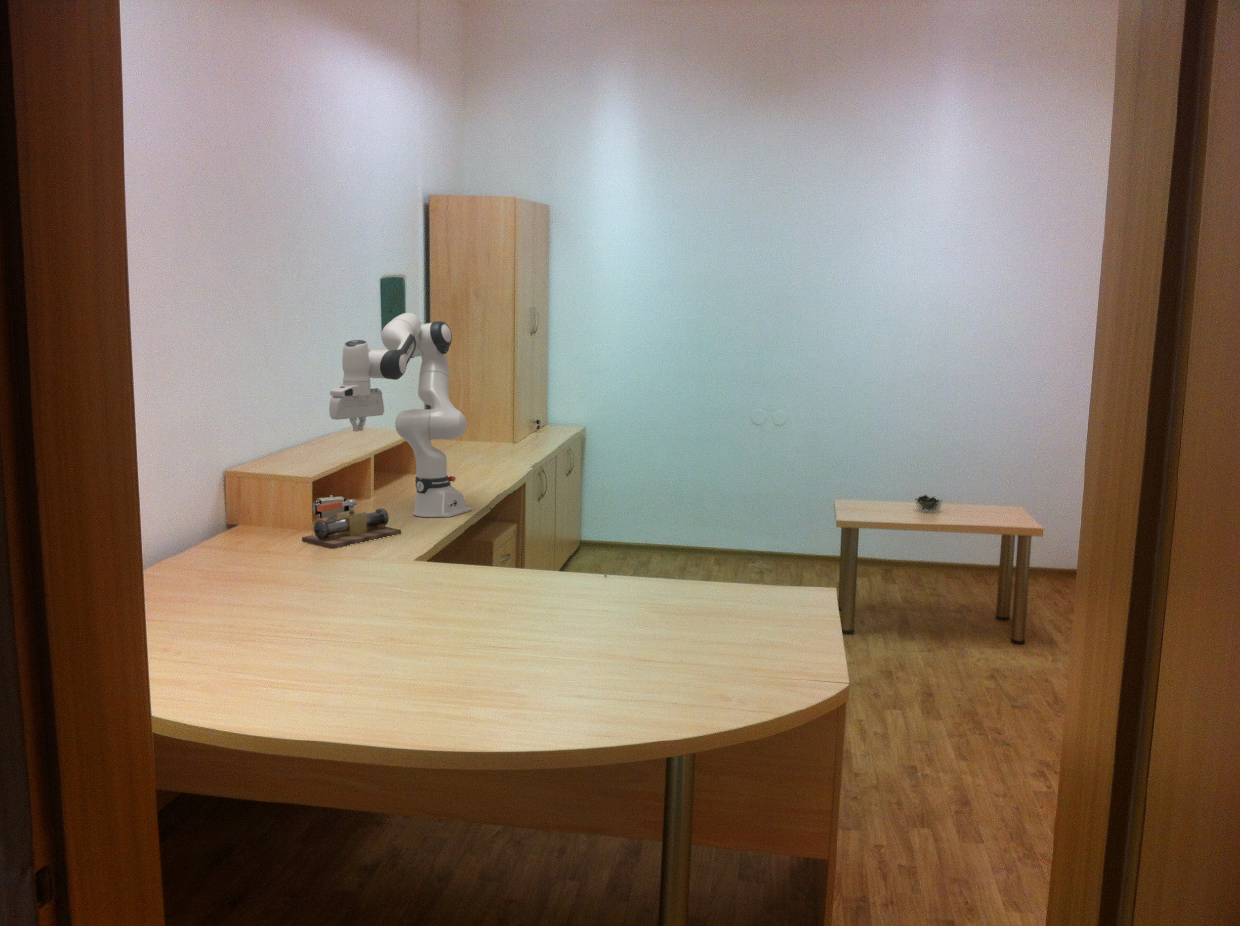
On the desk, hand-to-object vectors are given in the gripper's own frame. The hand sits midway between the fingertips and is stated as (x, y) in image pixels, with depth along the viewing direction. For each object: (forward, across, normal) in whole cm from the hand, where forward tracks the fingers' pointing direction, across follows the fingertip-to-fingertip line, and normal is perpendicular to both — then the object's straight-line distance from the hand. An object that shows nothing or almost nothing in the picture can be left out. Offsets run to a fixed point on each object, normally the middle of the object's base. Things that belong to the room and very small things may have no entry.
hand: (358, 430), depth 345 cm
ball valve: (+34, +6, +3) cm, 34 cm away
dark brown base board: (+35, +6, +3) cm, 36 cm away
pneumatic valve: (+35, +2, -13) cm, 38 cm away
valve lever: (+24, +12, +3) cm, 27 cm away
